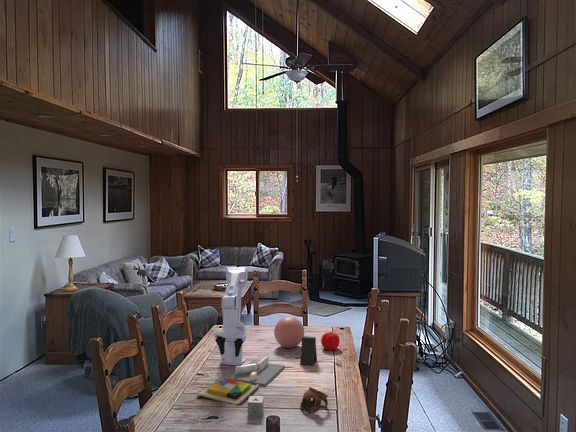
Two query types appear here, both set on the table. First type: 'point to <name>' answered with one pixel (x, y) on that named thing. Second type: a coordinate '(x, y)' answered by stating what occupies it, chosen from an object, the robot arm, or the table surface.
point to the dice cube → (256, 406)
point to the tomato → (330, 341)
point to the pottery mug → (316, 402)
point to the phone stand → (308, 351)
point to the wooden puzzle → (228, 390)
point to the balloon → (289, 332)
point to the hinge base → (260, 373)
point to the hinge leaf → (246, 369)
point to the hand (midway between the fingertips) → (229, 355)
